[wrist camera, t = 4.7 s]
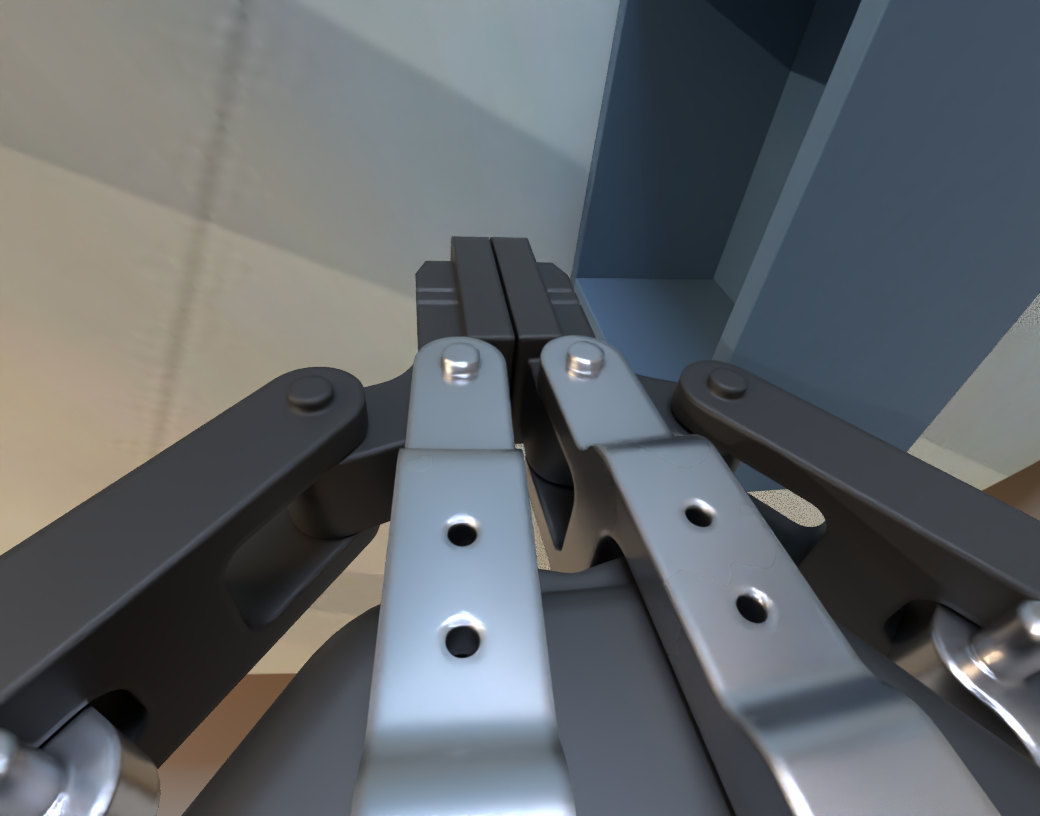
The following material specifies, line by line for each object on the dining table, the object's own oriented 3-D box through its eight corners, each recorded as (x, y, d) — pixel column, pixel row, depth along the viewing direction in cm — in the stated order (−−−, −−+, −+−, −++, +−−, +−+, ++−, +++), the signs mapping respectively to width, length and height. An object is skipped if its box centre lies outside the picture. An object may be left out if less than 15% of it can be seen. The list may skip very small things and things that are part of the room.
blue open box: (569, 283, 24) (667, 498, 15) (634, -84, 16) (921, -76, 7) (714, 283, 25) (881, 482, 16) (842, -55, 17) (1300, -17, 8)
